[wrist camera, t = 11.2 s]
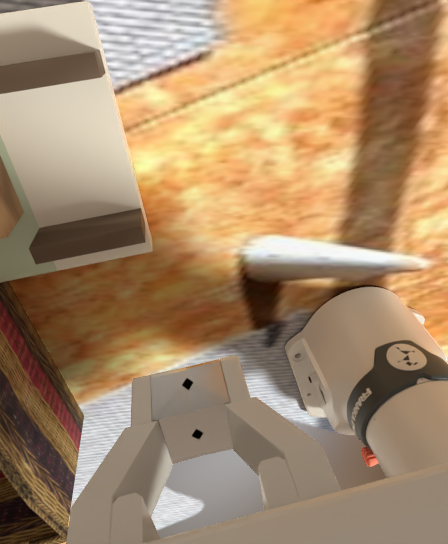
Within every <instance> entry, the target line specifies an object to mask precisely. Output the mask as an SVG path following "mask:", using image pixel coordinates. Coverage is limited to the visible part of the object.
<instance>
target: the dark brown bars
mask: <svg viewBox="0 0 448 544" xmlns="http://www.w3.org/2000/svg"><path fill="white" fill-rule="evenodd" d="M105 73H106V72H105V68H104V65H103V61H102V57H101V53H100V50H97V51H91V52H85V53H78V54H72V55H66V56H60V57H53V58H47V59H41V60H35V61H28V62H22V63H16V64H9V65H3V66H0V94H5V93H11V92H17V91H23V90H29V89H35V88H41V87H47V86H53V85H59V84H65V83H71V82H78V81H84V80H90V79H96V78H101V77H102V76H103V75H104V74H105ZM141 243H146V238H145V221H144V217H143V213H142V209H141V208H139V209H134V210H129V211H124V212H119V213H114V214H108V215H103V216H98V217H93V218H88V219H83V220H77V221H72V222H67V223H62V224H57V225H52V226H46V227H41V228H39V230H38V232H37V233H36V235H35V237H34V239H33V241H32V243H31V245H30V247H29V250H30V253H31V255H32V257H33V259H34V262H35V264H41V263H46V262H51V261H56V260H61V259H66V258H71V257H76V256H81V255H86V254H91V253H96V252H101V251H106V250H111V249H116V248H121V247H126V246H131V245H136V244H141Z"/></svg>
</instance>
